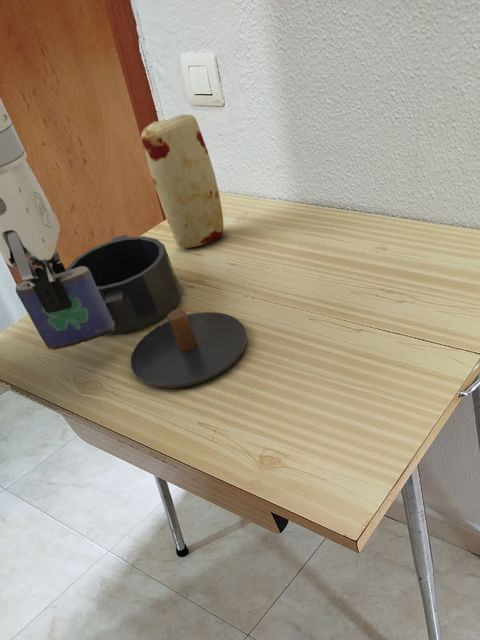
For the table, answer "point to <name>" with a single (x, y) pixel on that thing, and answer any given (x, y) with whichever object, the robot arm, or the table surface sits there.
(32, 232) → the robot arm
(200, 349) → the pan lid
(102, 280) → the pan
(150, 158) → the food model
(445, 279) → the table surface
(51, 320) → the flask
